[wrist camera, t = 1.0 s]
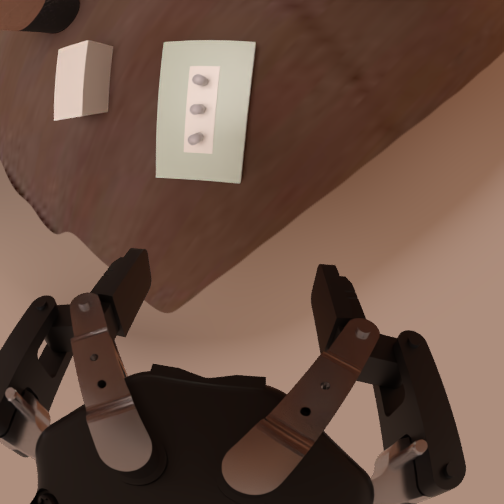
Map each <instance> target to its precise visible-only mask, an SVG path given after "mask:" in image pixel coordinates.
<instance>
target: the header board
mask: <svg viewBox="0 0 504 504" xmlns="http://www.w3.org/2000/svg"><path fill="white" fill-rule="evenodd" d="M255 50H256V42H246V41H226V40H194V41H174V42H164V46H163V54H162V63H161V72H160V83H159V96H158V111H157V134H156V178H176V179H192V180H205V181H218V182H229V183H239V184H240V183H241V179H242V168H243V158H244V149H245V139H246V129H247V120H248V111H249V102H250V93H251V84H252V75H253V67H254V59H255Z"/></svg>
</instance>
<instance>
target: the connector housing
mask: <svg viewBox="0 0 504 504" xmlns="http://www.w3.org/2000/svg"><path fill="white" fill-rule="evenodd" d="M112 54H113V46H110V45H106V44H102V43H98V42H94V41H90V40H87V41H83V42H80V43H77V44H74V45H70V46H67V47H64V48H61V49H59V52H58V59H57V68H56V80H55V96H54V121H56V120H61V119H67V118H73V117H80V116H86V115H92V114H98V113H105V112H108V102H109V85H110V72H111V62H112Z"/></svg>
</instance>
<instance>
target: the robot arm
mask: <svg viewBox="0 0 504 504" xmlns="http://www.w3.org/2000/svg"><path fill="white" fill-rule="evenodd" d="M150 286H151V272H150V266H149V259H148V253H147V250H146V249H136V248H131V249H130V250H129V251H128V252H127V253H126V255H125V256H124V257H120V258H119V259H117V260H116V261H114V262H113V263H112V264H111V265H110V267H109V268H108V270H107V271H106V272H105V273H104V276H102V277H101V279H100V280H99V281H98V283H97V284H96V285H95V287H94V288H93V289H92V291H91V292H90V293H83V294H80V295H78V296H77V297H75V298H74V299H73V300H72V302H71V304H70V305H57V304H56V302H55V299H54V298H53V297H51V296H42V297H39V298H37V299H36V300H35V301H33V303H32V304H31V305H30V307H29V308H28V309H27V311H26V312H25V314H24V315H23V316H22V318H21V320H20V321H19V322H18V324H17V325H16V327H15V328H14V330H13V331H12V333H11V334H10V336H9V337H8V339H7V341H6V342H5V344H4V345H3V347H2V349H1V350H0V442H1V443H2V444H3V445H5V446H6V447H8V448H9V449H12V450H13V451H14V452H16V453H17V454H19V455H20V456H23V457H31V458H33V459H35V460H36V464H37V472H38V489H37V493H36V496H35V497H34V499H33V500H32V502H31V503H30V504H416V503H419V502H422V501H424V500H427V499H430V498H432V497H435V496H437V495H440V494H442V493H444V492H447V491H449V490H451V489H453V488H455V487H457V486H458V485H459V484H460V483H461V482H462V480H463V478H464V476H465V472H466V465H465V460H464V455H463V451H462V447H461V443H460V438H459V434H458V431H457V427H456V423H455V420H454V417H453V413H452V410H451V407H450V404H449V401H448V397H447V394H446V392H445V389H444V386H443V383H442V380H441V378H440V375H439V372H438V369H437V367H436V364H435V362H434V359H433V357H432V354H431V352H430V349H429V347H428V345H427V342H426V340H425V339H424V338H423V337H422V336H421V335H420V334H418V333H416V332H414V331H409V330H408V331H403V332H402V333H400V335H399V336H398V338H394V337H390V336H386V335H382V334H380V332H379V329H378V328H377V326H376V325H375V324H374V323H372V322H370V321H369V320H366V318H365V315H364V313H363V310H362V307H361V305H360V302H359V300H358V299H357V295H356V293H355V290H354V287H353V285H352V283H351V282H350V281H349V280H348V279H347V278H346V277H343V276H339V273H338V270H337V268H336V266H335V265H324V264H319V266H318V268H317V273H316V277H315V281H314V285H313V289H312V294H311V304H312V310H313V315H314V320H315V325H316V331H317V336H318V342H319V347H320V353H321V355H320V356H319V357H318V358H317V360H316V361H315V362H314V364H313V365H312V366H311V367H310V368H309V370H308V371H307V372H306V373H305V374H304V376H303V377H302V378H301V379H300V380H299V381H298V383H297V384H296V385H295V386H294V387H293V388H292V390H291V391H290V392H289V393H288V394H285V393H284V392H282V391H280V390H278V389H276V388H273V387H271V386H267V385H266V377H255V376H242V375H234V376H225V377H216V378H204V377H201V376H198V375H196V374H193V373H190V372H188V371H185V370H182V369H180V368H175V367H168V366H163V365H157V364H153V365H152V369H151V371H147V372H141V373H137V374H133V375H130V376H128V375H127V373H126V370H125V368H124V365H123V362H122V360H121V357H120V354H119V352H118V349H117V346H116V343H115V338H116V336H117V335H118V336H123V337H126V335H127V333H128V331H129V328H130V327H131V325H132V323H133V321H134V318H135V317H136V314H137V313H138V311H139V309H140V307H141V305H142V303H143V301H144V299H145V297H146V295H147V293H148V291H149V289H150ZM44 339H45V341H46V343H47V345H46V347H45V348H44V350H43V352H42V354H41V356H40V358H39V360H38V357H37V353H38V349H39V347H40V345H41V344H42V342H43V340H44ZM72 356H73V357H74V362H75V367H76V372H77V376H78V380H79V384H80V388H81V393H82V396H83V400H84V405H82V406H81V407H79V408H77V409H76V410H74V411H73V412H71V413H70V414H68V415H66V416H65V417H63V418H61V419H60V420H58V421H56V422H55V423H53V424H51V425H50V415H49V410H50V407H51V404H52V402H53V400H54V397H55V395H56V392H57V390H58V387H59V385H60V383H61V380H62V378H63V376H64V373H65V371H66V369H67V367H68V365H69V362H70V360H71V358H72ZM356 381H360V382H365V383H369V384H373V388H374V393H375V398H376V403H377V409H378V415H379V420H380V427H381V433H382V440H383V447H384V451H383V452H382V453H381V454H380V455H379V456H378V458H377V459H376V461H375V468H374V473H373V476H372V477H371V478H370V477H369V475H368V474H367V473H366V471H364V469H362V468H361V467H360V466H359V465H358V464H357V463H356V462H355V461H354V460H353V459H352V458H350V456H348V454H346V453H345V452H344V451H343V450H342V449H341V448H340V447H339V446H338V445H337V444H336V443H335V442H334V441H333V440H332V439H331V438H330V437H329V436H328V435H327V434H326V433H325V432H324V429H325V428H326V426H327V425H328V424H329V422H330V421H331V419H332V418H333V416H334V415H335V413H336V412H337V410H338V409H339V407H340V406H341V404H342V403H343V401H344V400H345V398H346V396H347V395H348V393H349V392H350V390H351V388H352V387H353V385H354V383H355V382H356Z"/></svg>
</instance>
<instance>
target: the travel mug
mask: <svg viewBox="0 0 504 504" xmlns="http://www.w3.org/2000/svg"><path fill="white" fill-rule="evenodd" d="M78 10H79V0H0V30H11V31H31V32H45V33H58V32H60V31H62V30H64V29H65V28H66V27H67V26H68V25H69V24H70V23H71V22H72V21H73V20H74V18H75V16H76V15H77V12H78Z"/></svg>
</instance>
